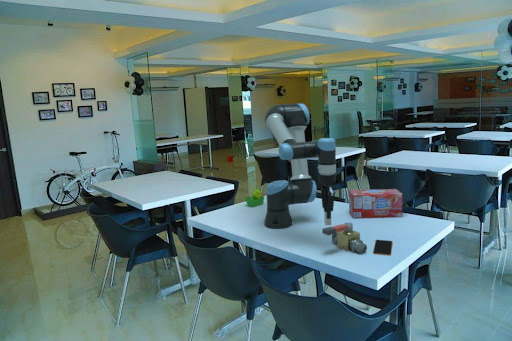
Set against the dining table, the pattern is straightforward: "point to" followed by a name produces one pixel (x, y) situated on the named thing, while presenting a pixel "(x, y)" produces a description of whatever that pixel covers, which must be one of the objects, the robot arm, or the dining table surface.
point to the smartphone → (383, 247)
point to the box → (375, 203)
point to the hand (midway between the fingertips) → (327, 224)
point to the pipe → (349, 241)
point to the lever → (338, 229)
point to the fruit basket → (255, 199)
